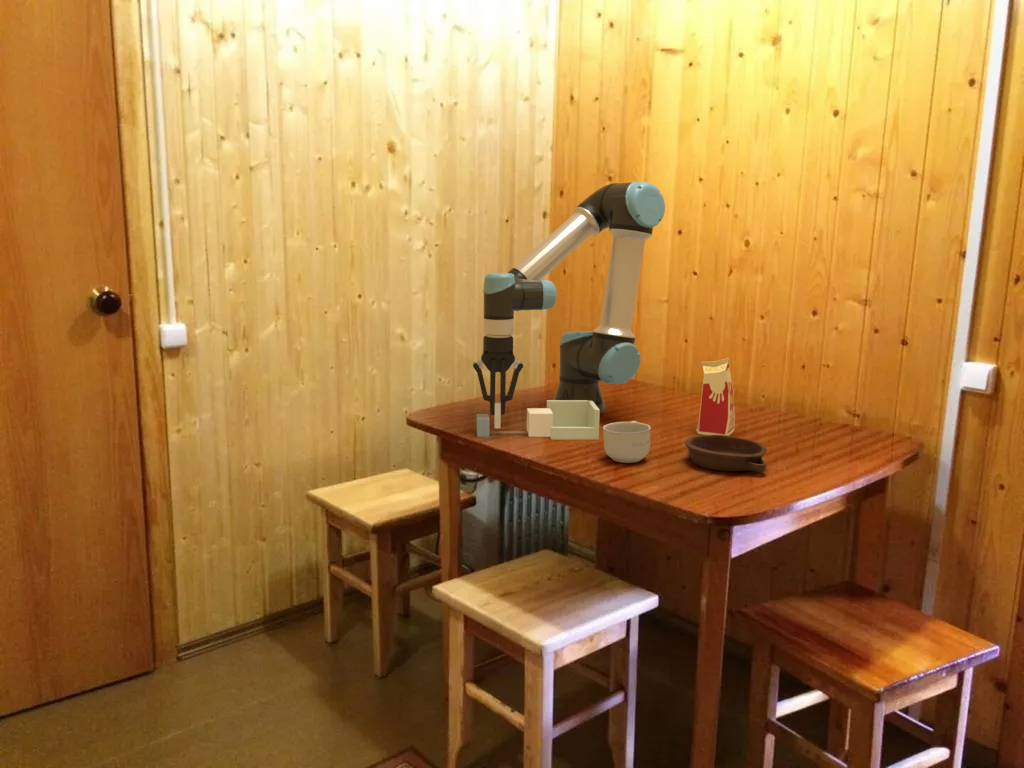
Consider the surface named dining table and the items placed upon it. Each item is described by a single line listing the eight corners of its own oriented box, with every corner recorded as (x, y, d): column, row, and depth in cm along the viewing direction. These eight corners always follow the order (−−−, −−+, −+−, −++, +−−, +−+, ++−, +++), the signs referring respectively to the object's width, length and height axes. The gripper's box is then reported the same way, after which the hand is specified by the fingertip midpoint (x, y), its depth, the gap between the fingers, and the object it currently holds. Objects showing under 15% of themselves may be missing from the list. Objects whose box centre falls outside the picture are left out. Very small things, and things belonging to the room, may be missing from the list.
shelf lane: (591, 428, 214) (592, 400, 213) (598, 439, 203) (599, 410, 201) (546, 428, 213) (546, 400, 212) (551, 439, 202) (552, 409, 201)
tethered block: (549, 430, 211) (550, 408, 210) (552, 436, 205) (553, 413, 204) (476, 430, 209) (476, 408, 208) (477, 436, 203) (477, 413, 202)
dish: (734, 484, 170) (736, 461, 169) (661, 458, 188) (662, 437, 187) (788, 471, 180) (790, 450, 179) (714, 448, 198) (715, 428, 197)
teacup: (637, 469, 179) (639, 434, 177) (593, 461, 184) (595, 427, 183) (661, 455, 190) (663, 422, 189) (619, 447, 196) (620, 415, 194)
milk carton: (734, 430, 215) (739, 356, 211) (728, 438, 207) (733, 361, 203) (700, 426, 219) (704, 353, 215) (692, 433, 211) (697, 358, 207)
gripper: (523, 333, 206) (521, 423, 211) (471, 333, 205) (471, 423, 210) (525, 337, 199) (523, 430, 203) (472, 337, 198) (472, 430, 202)
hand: (497, 426), depth 206 cm, fingers closed
